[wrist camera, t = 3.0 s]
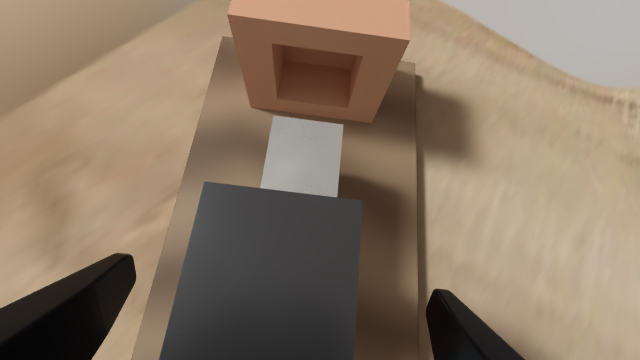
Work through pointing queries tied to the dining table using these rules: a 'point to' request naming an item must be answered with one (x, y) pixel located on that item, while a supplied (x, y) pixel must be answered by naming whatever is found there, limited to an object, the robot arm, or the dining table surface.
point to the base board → (354, 183)
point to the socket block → (319, 53)
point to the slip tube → (273, 259)
